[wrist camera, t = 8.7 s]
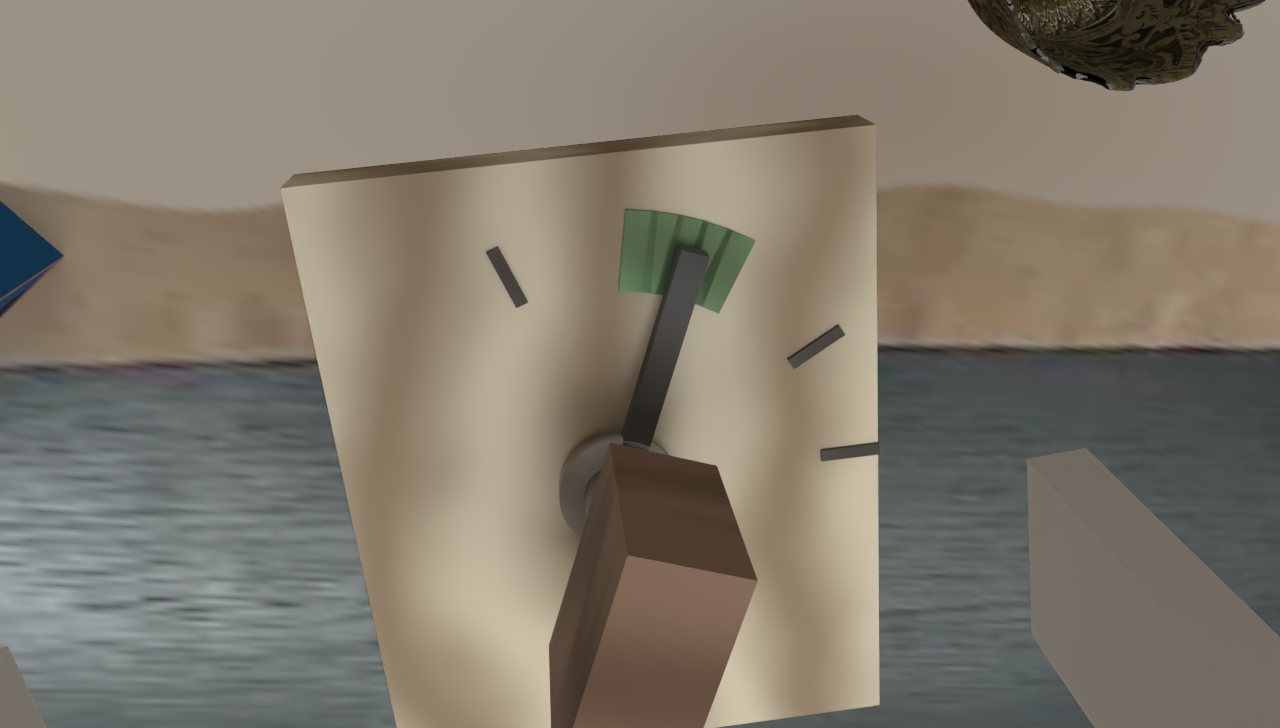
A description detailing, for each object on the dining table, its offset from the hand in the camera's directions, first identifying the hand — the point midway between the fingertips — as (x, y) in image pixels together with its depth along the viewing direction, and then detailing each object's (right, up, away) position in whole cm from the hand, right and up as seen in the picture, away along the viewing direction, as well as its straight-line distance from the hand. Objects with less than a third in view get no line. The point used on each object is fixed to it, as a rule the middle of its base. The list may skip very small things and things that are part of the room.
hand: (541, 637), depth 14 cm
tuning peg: (+1, +2, +21) cm, 21 cm away
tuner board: (0, 0, +24) cm, 24 cm away
